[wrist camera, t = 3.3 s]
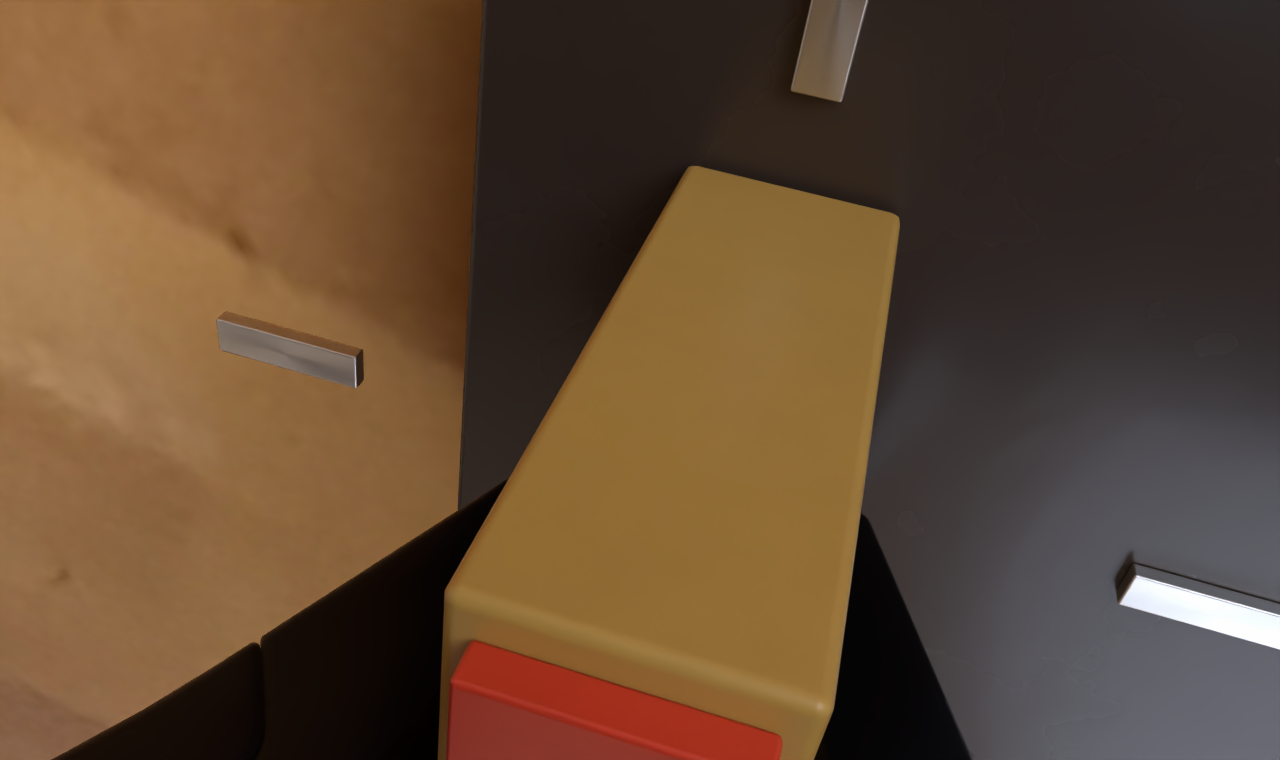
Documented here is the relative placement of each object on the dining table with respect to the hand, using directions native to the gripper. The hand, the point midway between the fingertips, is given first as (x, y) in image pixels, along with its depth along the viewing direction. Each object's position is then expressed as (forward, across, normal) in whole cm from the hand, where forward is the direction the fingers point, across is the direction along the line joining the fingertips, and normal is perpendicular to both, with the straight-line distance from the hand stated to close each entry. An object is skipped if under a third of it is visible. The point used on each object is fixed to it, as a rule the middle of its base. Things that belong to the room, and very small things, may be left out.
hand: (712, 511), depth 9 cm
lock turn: (+1, 0, 0) cm, 1 cm away
